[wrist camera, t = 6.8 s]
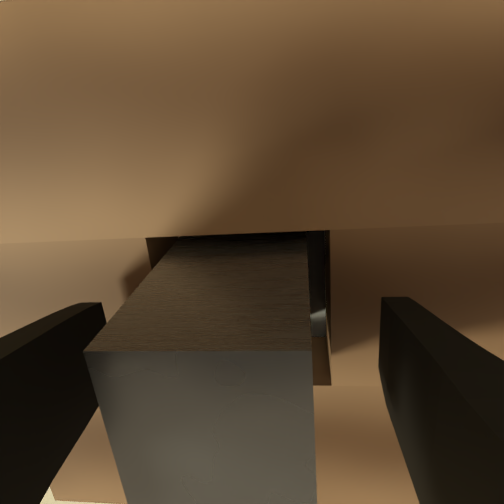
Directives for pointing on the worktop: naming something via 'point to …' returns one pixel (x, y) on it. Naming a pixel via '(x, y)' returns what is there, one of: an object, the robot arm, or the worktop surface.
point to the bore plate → (259, 178)
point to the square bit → (213, 375)
